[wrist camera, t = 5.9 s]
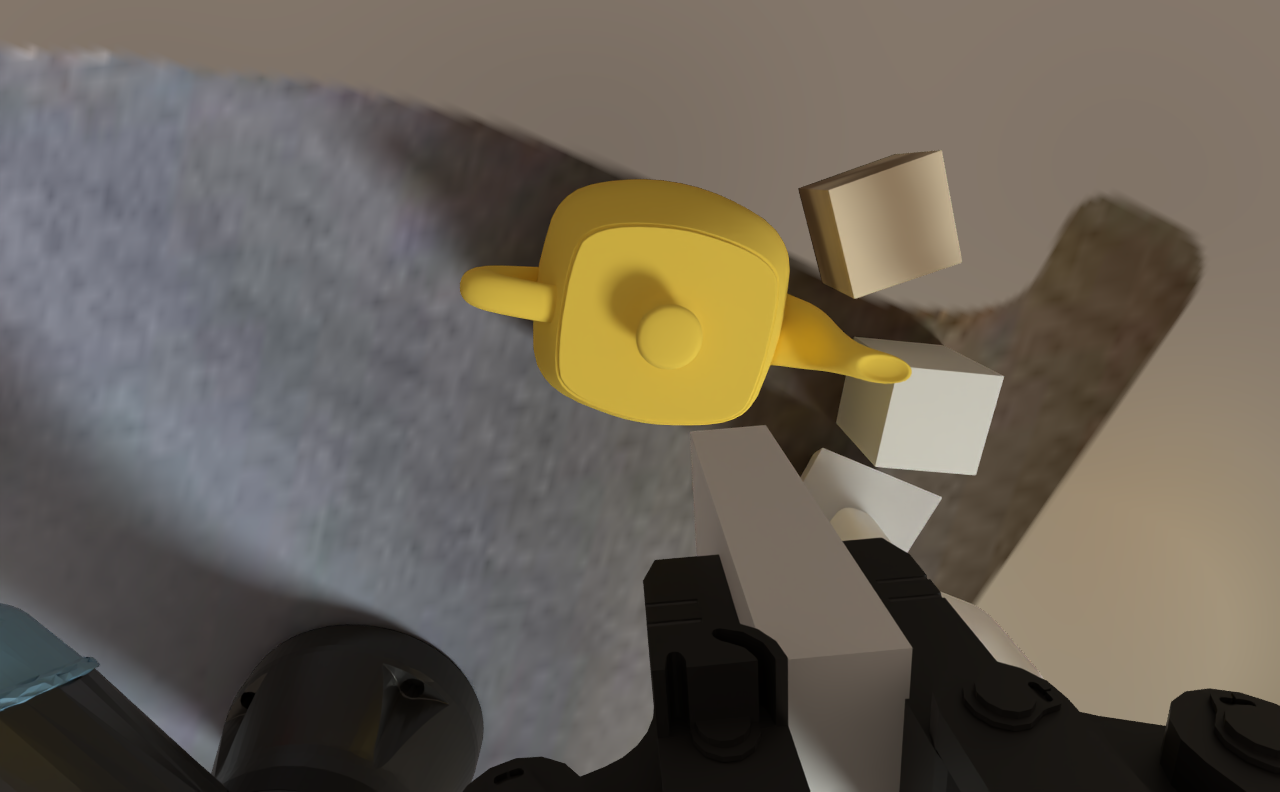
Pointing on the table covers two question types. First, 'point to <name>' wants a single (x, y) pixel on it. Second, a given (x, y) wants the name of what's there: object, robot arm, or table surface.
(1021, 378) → the table surface
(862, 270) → the beech block
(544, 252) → the teapot
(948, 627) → the robot arm
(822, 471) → the figurine
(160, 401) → the table surface
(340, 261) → the table surface
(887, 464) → the white block
